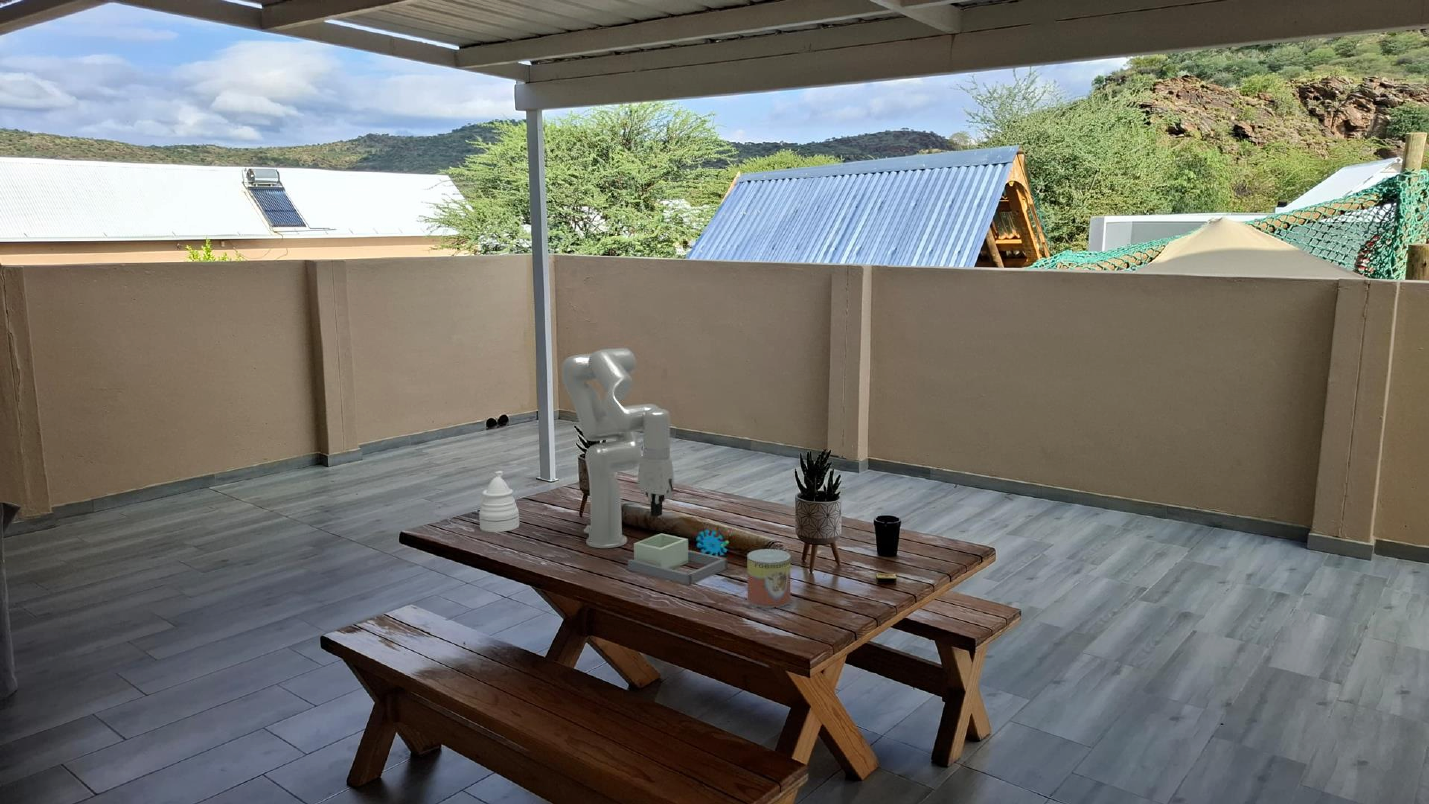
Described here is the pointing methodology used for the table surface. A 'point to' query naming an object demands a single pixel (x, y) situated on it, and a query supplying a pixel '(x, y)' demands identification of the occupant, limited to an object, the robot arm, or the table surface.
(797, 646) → the table surface
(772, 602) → the canned food
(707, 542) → the gear
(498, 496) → the honey pot
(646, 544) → the box
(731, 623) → the table surface
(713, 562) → the bay
